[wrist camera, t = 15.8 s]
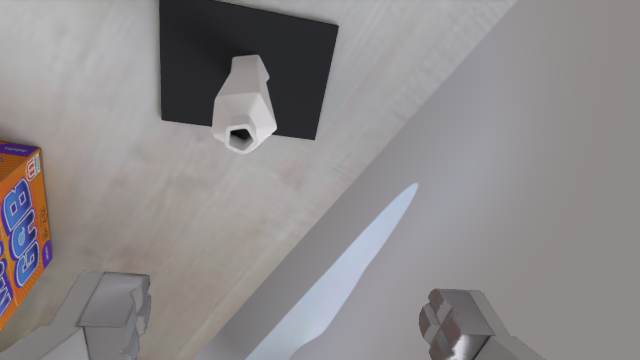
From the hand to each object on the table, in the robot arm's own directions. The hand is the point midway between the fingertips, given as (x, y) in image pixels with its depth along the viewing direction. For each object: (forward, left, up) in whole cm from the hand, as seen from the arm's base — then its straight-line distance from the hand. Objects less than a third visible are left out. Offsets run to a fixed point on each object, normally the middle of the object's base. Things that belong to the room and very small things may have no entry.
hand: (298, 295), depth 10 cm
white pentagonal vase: (+2, +2, -29) cm, 29 cm away
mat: (+2, +2, -30) cm, 30 cm away
